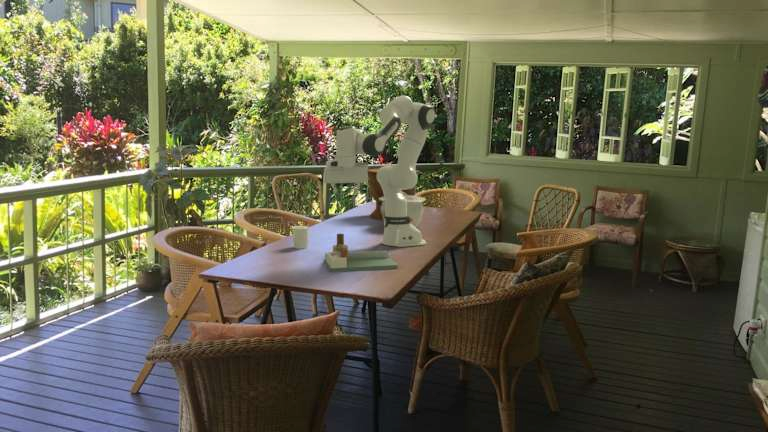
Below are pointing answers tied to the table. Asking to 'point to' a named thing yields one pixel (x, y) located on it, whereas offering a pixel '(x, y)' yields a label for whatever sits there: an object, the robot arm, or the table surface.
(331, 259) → the pitch
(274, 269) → the table surface
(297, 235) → the white cup
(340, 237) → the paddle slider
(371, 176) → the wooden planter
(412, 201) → the chamber pot
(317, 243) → the table surface
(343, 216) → the table surface
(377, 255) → the rail
